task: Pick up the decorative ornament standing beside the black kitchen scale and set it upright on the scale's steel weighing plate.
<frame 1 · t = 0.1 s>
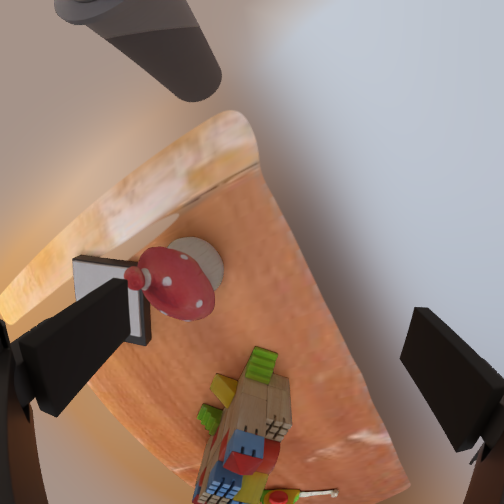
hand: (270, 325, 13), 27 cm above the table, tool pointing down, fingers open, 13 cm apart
block set: (243, 415, 46), on the table
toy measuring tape: (294, 492, 51), on the table
kitchen scale: (114, 297, 43), on the table
decorative ornament: (197, 261, 41), on the table
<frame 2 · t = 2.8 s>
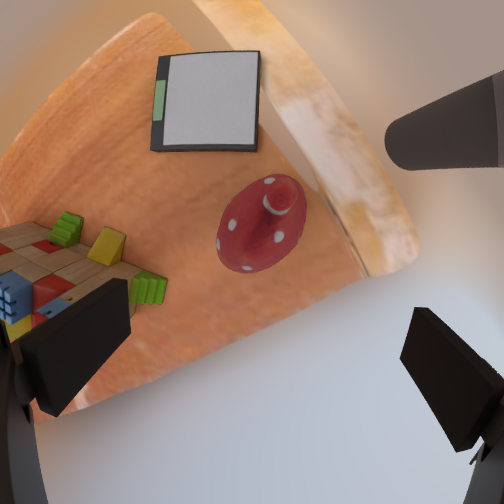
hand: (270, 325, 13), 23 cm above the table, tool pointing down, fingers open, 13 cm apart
block set: (77, 265, 39), on the table
kitchen scale: (208, 102, 33), on the table
decorative ornament: (263, 212, 35), on the table
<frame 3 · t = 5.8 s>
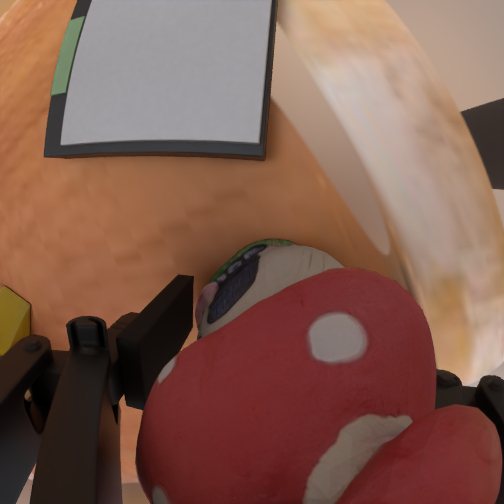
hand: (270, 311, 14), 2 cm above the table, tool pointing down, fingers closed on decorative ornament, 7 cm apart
kitchen scale: (165, 55, 14), on the table
decorative ornament: (272, 294, 17), on the table, touching gripper
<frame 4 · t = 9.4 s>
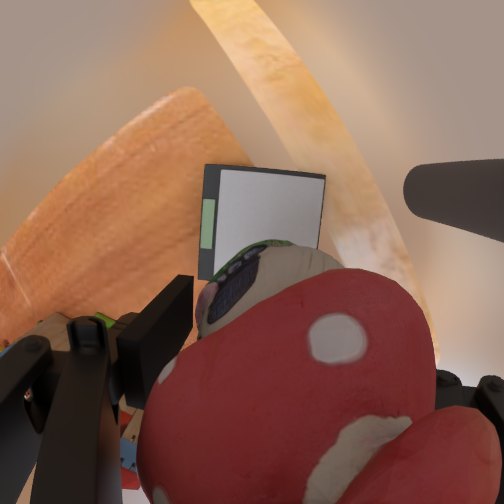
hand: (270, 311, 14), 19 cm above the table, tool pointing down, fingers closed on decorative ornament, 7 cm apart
block set: (113, 361, 39), on the table
kitchen scale: (260, 225, 33), on the table
decorative ornament: (272, 294, 17), point 17 cm above the table, touching gripper
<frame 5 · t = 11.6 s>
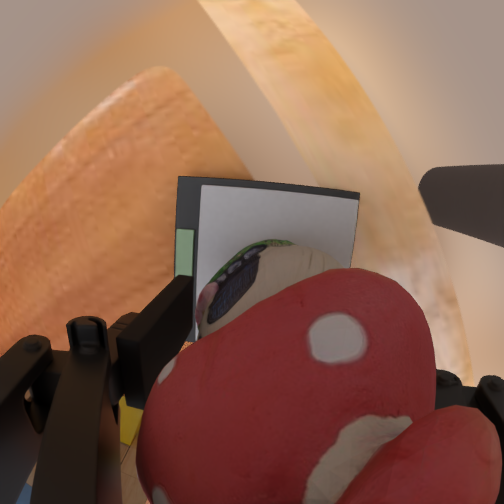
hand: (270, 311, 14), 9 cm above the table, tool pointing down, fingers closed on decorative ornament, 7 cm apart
block set: (85, 414, 29), on the table
kitchen scale: (262, 263, 23), on the table
decorative ornament: (272, 294, 17), point 6 cm above the table, touching gripper
when the fingers open (5 cm above the table, at t = 13.0 s): decorative ornament stays where it is, resting on kitchen scale.
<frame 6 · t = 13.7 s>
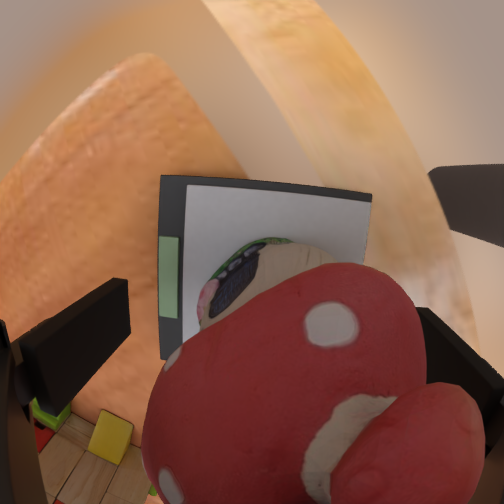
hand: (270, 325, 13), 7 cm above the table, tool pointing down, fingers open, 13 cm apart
block set: (73, 428, 26), on the table
kitchen scale: (258, 275, 20), on the table
decorative ornament: (271, 291, 17), point 3 cm above the table, touching kitchen scale
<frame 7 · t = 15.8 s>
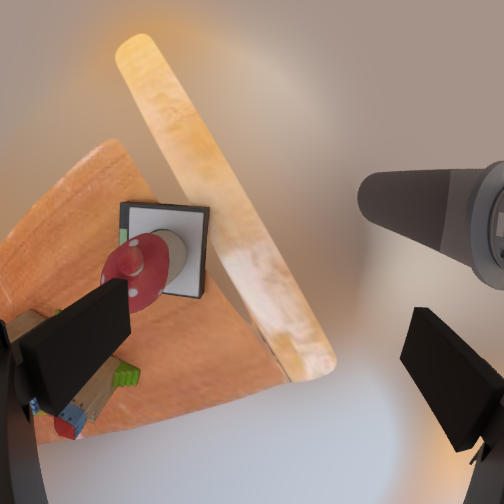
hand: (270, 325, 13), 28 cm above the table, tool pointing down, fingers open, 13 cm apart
block set: (71, 347, 47), on the table
kitchen scale: (164, 246, 42), on the table
decorative ornament: (163, 252, 39), point 3 cm above the table, touching kitchen scale
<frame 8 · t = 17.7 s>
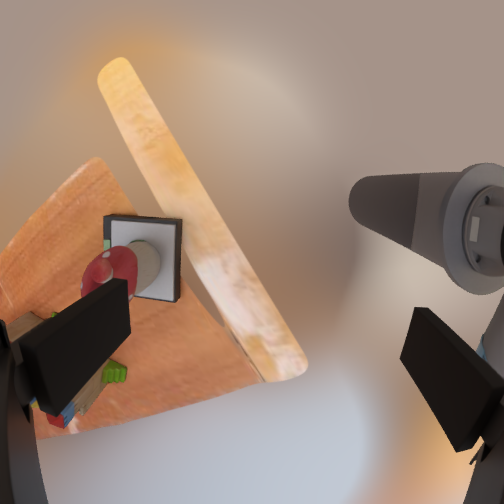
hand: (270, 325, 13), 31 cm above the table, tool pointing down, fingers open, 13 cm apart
block set: (66, 347, 51), on the table
kitchen scale: (144, 255, 45), on the table
decorative ornament: (141, 260, 42), point 3 cm above the table, touching kitchen scale
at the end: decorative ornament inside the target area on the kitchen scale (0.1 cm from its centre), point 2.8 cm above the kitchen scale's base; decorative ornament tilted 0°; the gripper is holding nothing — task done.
